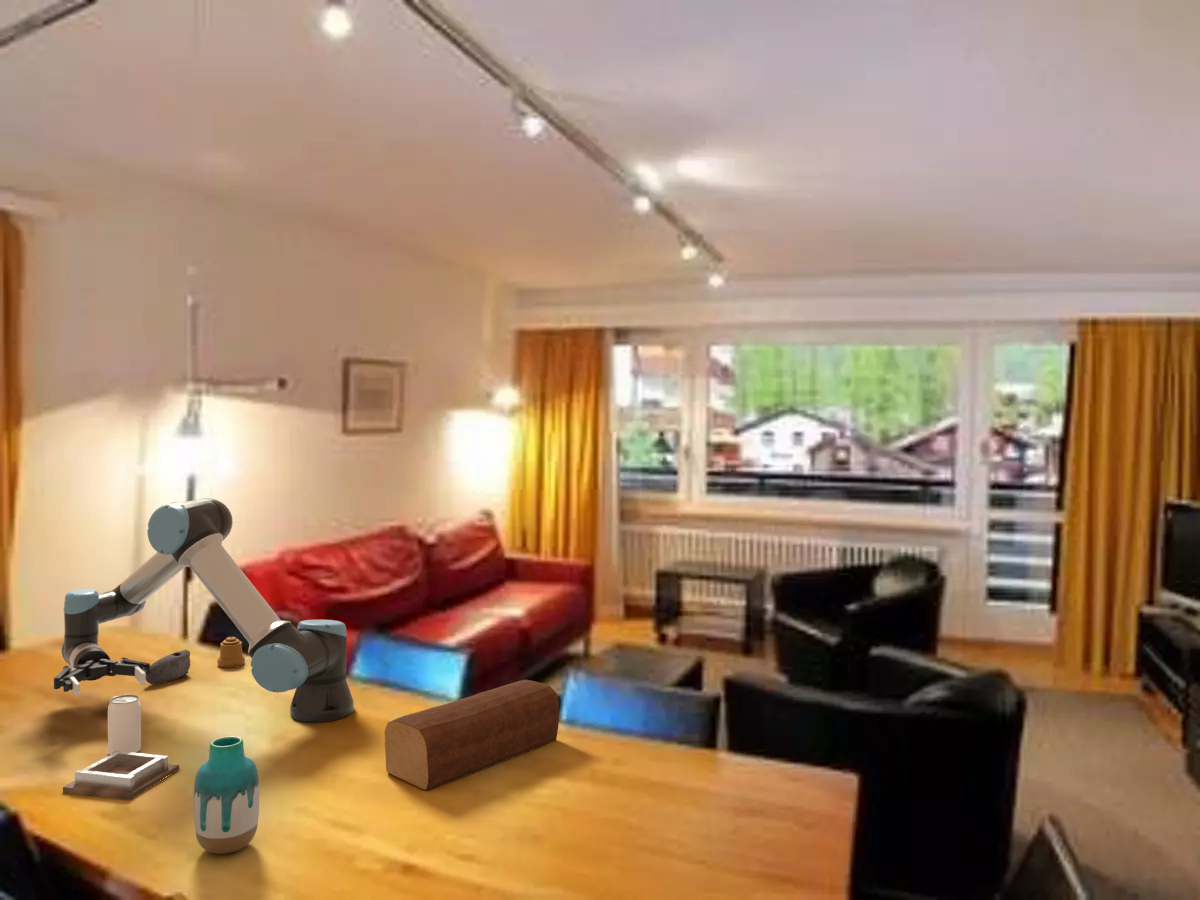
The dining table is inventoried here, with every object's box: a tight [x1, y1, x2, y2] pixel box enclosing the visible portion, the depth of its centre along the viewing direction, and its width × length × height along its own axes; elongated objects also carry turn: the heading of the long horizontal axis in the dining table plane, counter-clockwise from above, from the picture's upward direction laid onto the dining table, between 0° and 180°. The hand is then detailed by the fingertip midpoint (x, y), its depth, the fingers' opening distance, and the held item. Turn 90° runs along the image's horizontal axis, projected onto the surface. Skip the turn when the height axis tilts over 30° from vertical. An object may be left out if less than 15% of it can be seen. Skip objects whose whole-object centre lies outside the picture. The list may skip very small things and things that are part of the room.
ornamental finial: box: [216, 636, 246, 669], centre depth 269 cm, size 8×8×8 cm
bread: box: [384, 679, 560, 792], centre depth 205 cm, size 16×39×13 cm, turn 139°
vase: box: [193, 735, 260, 855], centre depth 161 cm, size 11×11×19 cm
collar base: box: [62, 763, 180, 801], centre depth 189 cm, size 15×15×1 cm
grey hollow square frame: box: [74, 751, 169, 791], centre depth 189 cm, size 13×11×2 cm
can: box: [107, 694, 142, 755], centre depth 203 cm, size 6×6×12 cm
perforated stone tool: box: [146, 649, 191, 685], centre depth 254 cm, size 15×5×7 cm, turn 157°
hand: (111, 684), depth 210 cm, fingers open, 13 cm apart
